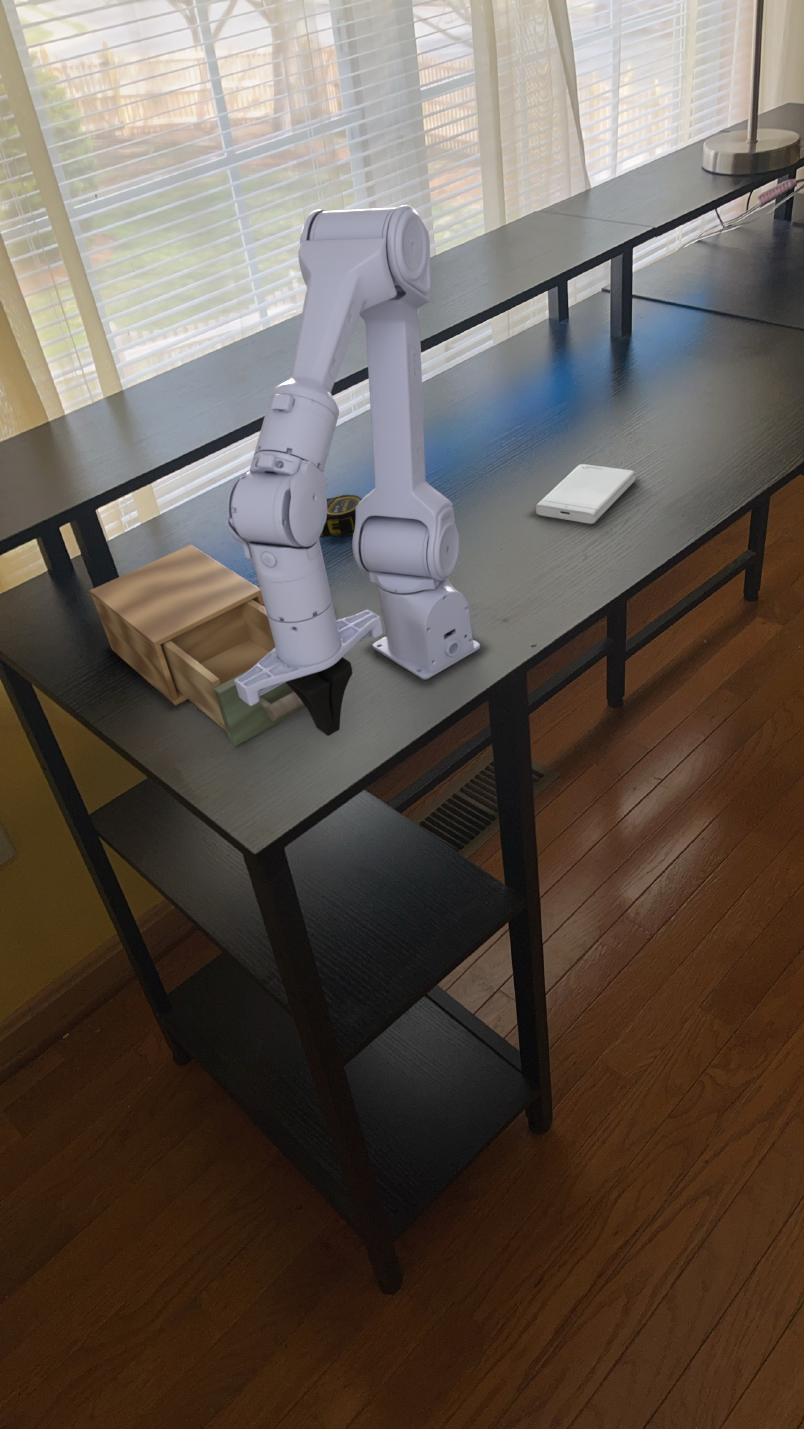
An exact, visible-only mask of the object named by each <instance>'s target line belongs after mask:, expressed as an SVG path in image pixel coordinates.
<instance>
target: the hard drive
mask: <svg viewBox="0 0 804 1429" xmlns="http://www.w3.org/2000/svg"><path fill="white" fill-rule="evenodd" d="M635 481H636V471H634V470H632V469H624V468H616V467H615V468H614V467H609V466H601V465H592V464H585V463H580V464H578V465H577V466H576V467H575V468H574V469H573V470H571V472H570V473H569V474H568V475H567V476H566V477H565V478H563V479H562V480H561V481H560V482H559V483H558V484H557V485H556V486H555V487H554V488H553V489H552V490H551V491H550V492H548V494H546V495H545V496H544V497H543V498H542V499H541V500H540V501H539V502H538V503H537V504H536V505H535V511H536V512H535V513H536V514H537V515H539V516H542V517H548V518H554V519H560V520H565V521H566V520H567V521H573V522H579V523H583V524H589V525H593V524H595V523H596V522H597V521H598V519H600V518H601V517H602V516H603V515H604V514H605V513H606V512H607V511H608V509H609V508H610V507H611V506H612V505H613V504H614V503H615V502H616V501H617V500H619V498H620V497H621V496H622V495H623V494H624V493H625V492H626V491H627V490H628V488H630V487H631V486H632V484H633V483H634V482H635Z"/></svg>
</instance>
